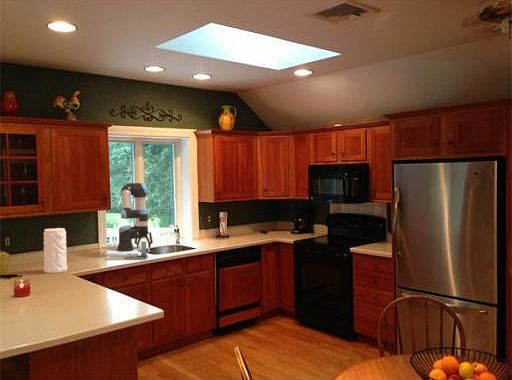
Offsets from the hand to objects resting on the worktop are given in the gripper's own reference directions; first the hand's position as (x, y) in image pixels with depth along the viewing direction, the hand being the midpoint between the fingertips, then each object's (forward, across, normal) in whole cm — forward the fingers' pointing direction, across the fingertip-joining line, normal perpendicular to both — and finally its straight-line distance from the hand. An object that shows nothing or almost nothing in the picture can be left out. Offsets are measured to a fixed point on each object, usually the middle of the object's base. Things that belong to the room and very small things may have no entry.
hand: (143, 251), depth 392 cm
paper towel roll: (+5, -55, -51) cm, 75 cm away
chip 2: (+4, -5, -11) cm, 13 cm away
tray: (+5, -21, -11) cm, 24 cm away
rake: (+5, 0, 0) cm, 5 cm away
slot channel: (+5, -4, -11) cm, 13 cm away
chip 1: (+4, -10, -11) cm, 15 cm away
